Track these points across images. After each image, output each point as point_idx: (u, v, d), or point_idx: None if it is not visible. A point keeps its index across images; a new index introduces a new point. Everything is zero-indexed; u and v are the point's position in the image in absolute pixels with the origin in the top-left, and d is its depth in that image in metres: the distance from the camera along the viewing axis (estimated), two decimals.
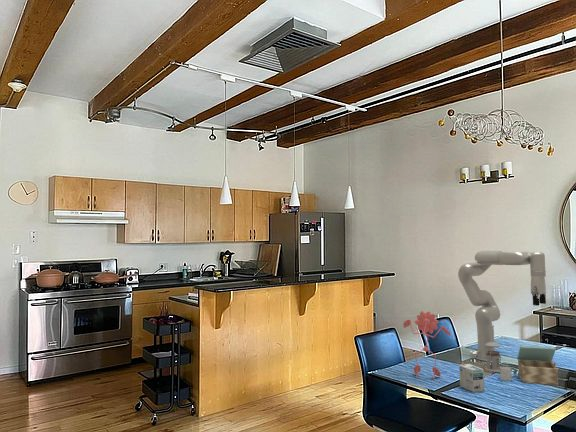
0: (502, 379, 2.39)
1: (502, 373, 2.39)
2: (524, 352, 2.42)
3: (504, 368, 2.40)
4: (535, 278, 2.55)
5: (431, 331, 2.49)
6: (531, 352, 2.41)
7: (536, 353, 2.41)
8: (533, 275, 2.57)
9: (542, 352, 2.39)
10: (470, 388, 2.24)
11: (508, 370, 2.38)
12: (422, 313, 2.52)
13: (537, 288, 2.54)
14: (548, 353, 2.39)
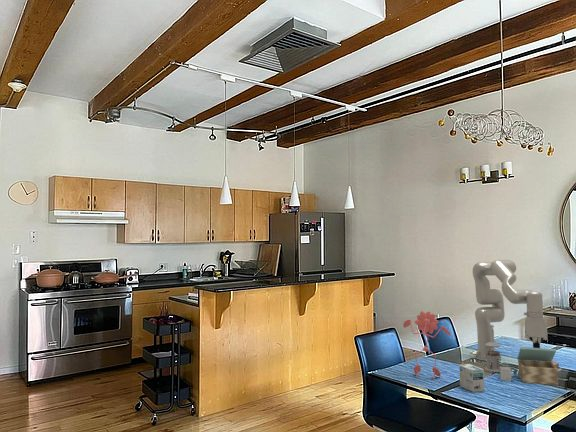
0: (502, 379, 2.39)
1: (502, 373, 2.39)
2: (524, 353, 2.42)
3: (504, 368, 2.40)
4: None
5: (431, 331, 2.49)
6: (531, 353, 2.41)
7: (536, 354, 2.41)
8: None
9: (542, 353, 2.39)
10: (470, 388, 2.24)
11: (508, 370, 2.38)
12: (422, 313, 2.52)
13: None
14: (548, 354, 2.38)
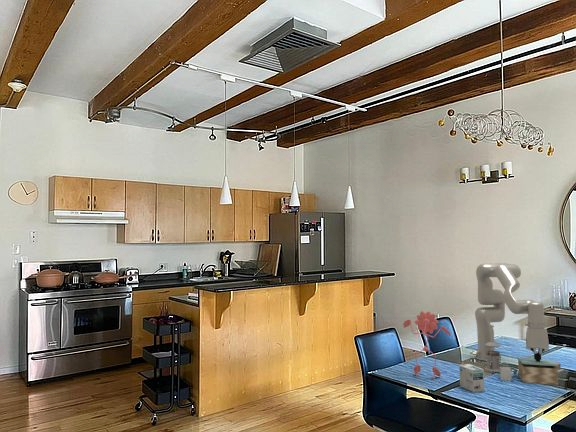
0: (502, 379, 2.39)
1: (502, 373, 2.39)
2: None
3: (504, 368, 2.40)
4: None
5: (431, 331, 2.49)
6: None
7: None
8: (544, 327, 2.37)
9: None
10: (470, 388, 2.24)
11: (508, 370, 2.38)
12: (422, 313, 2.52)
13: None
14: None
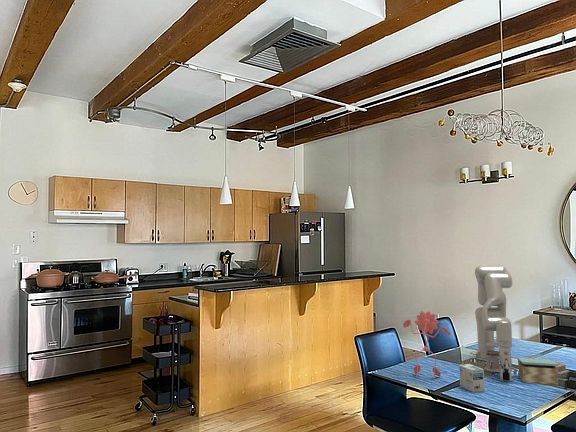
0: (502, 379, 2.39)
1: (502, 373, 2.39)
2: None
3: (504, 368, 2.40)
4: None
5: (431, 331, 2.49)
6: None
7: None
8: None
9: None
10: (470, 388, 2.24)
11: None
12: (422, 313, 2.52)
13: None
14: None
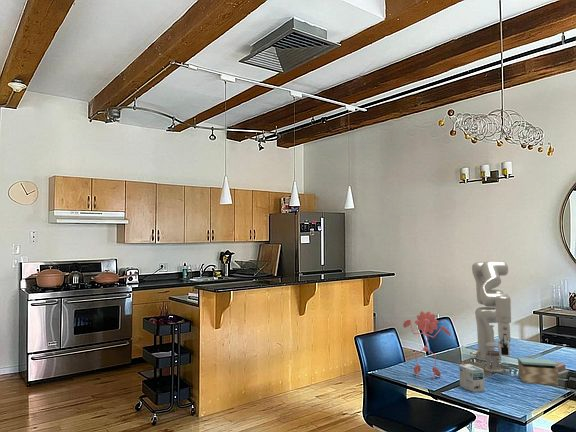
0: (501, 354, 2.40)
1: None
2: None
3: None
4: None
5: (431, 331, 2.49)
6: None
7: None
8: None
9: None
10: (470, 388, 2.24)
11: None
12: (422, 313, 2.52)
13: None
14: None
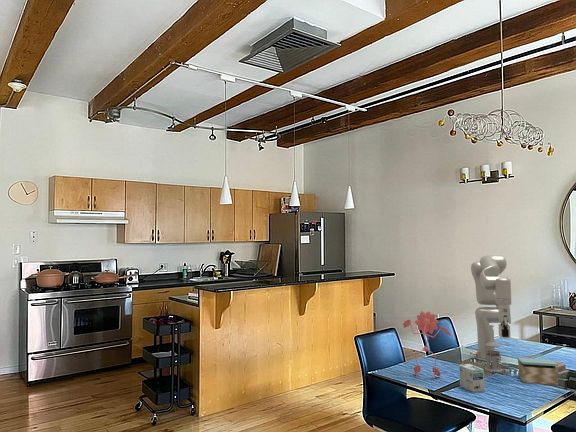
0: (501, 336, 2.40)
1: (501, 330, 2.40)
2: None
3: None
4: None
5: (431, 331, 2.49)
6: None
7: None
8: None
9: None
10: (470, 388, 2.24)
11: None
12: (422, 313, 2.52)
13: None
14: None
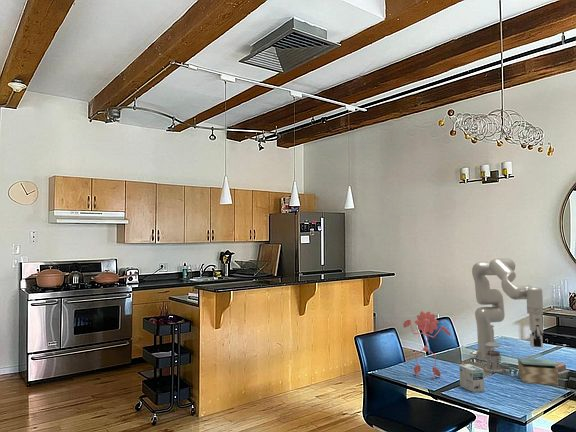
0: (533, 345, 2.39)
1: (533, 340, 2.39)
2: None
3: None
4: None
5: (431, 331, 2.49)
6: None
7: None
8: None
9: None
10: (470, 388, 2.24)
11: None
12: (422, 313, 2.52)
13: None
14: None
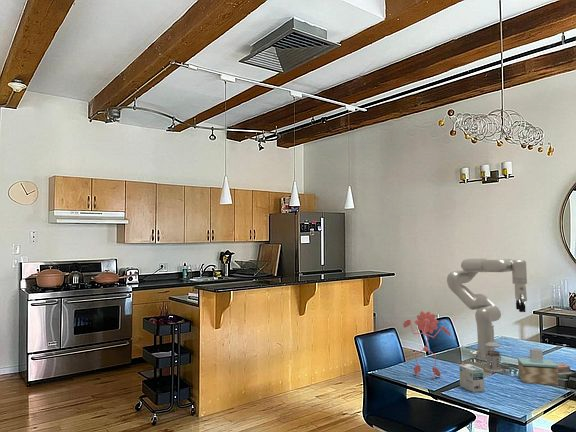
0: (533, 360, 2.38)
1: (533, 354, 2.39)
2: None
3: (535, 350, 2.40)
4: None
5: (431, 331, 2.49)
6: None
7: None
8: None
9: None
10: (470, 388, 2.24)
11: (539, 351, 2.38)
12: (422, 313, 2.52)
13: None
14: None
